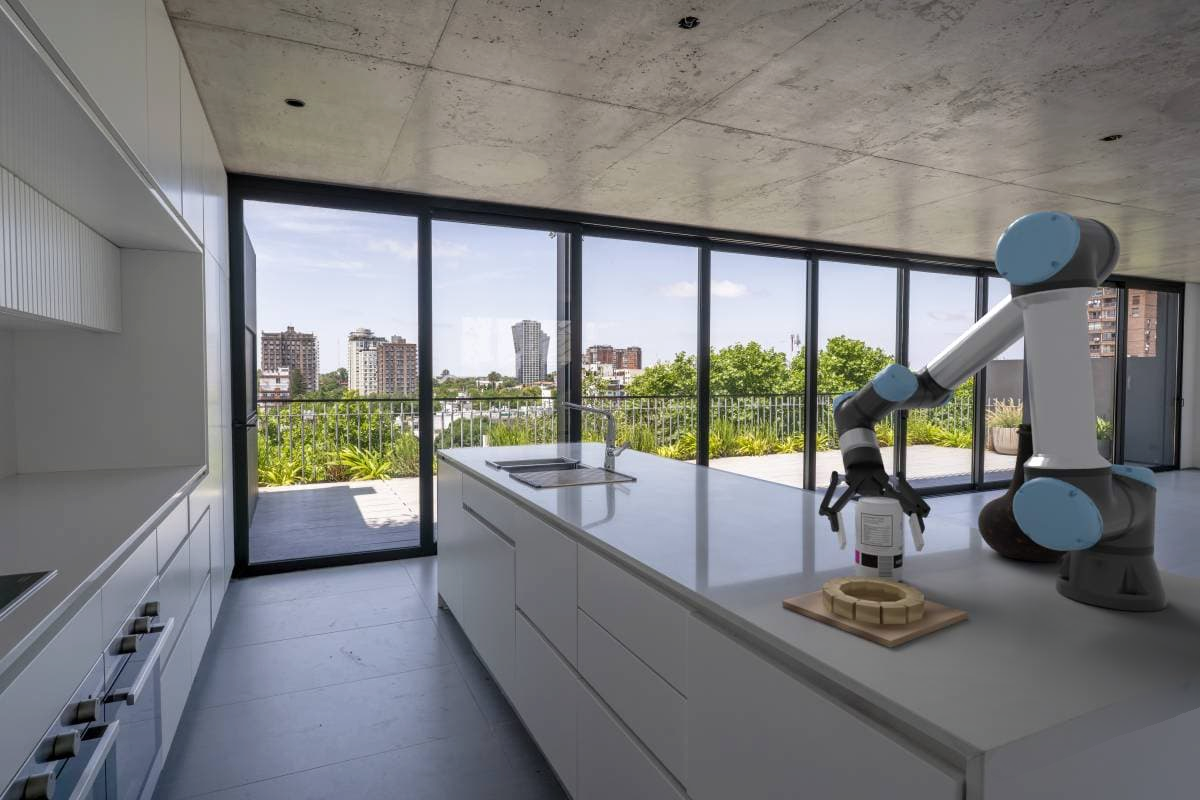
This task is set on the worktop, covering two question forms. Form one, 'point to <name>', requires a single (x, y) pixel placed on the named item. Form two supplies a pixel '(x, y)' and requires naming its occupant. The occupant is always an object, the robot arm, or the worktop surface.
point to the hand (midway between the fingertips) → (881, 547)
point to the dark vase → (1000, 518)
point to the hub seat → (875, 609)
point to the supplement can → (879, 538)
